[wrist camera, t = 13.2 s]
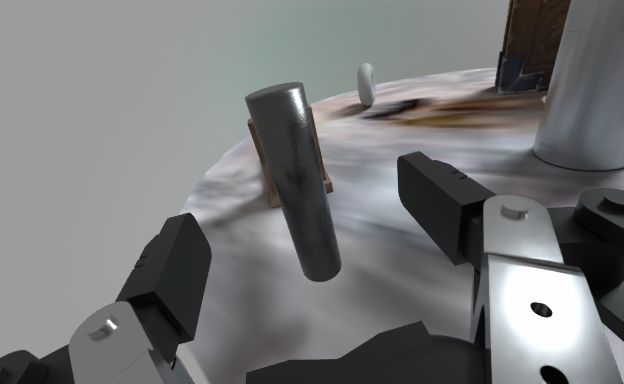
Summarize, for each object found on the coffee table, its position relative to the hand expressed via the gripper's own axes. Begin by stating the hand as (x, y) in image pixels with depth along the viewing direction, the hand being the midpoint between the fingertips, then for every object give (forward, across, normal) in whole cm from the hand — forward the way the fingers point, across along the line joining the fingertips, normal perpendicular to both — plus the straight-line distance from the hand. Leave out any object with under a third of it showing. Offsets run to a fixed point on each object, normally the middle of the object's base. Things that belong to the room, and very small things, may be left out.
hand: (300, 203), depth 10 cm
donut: (+58, -23, +14) cm, 64 cm away
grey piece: (+14, 0, +10) cm, 17 cm away
